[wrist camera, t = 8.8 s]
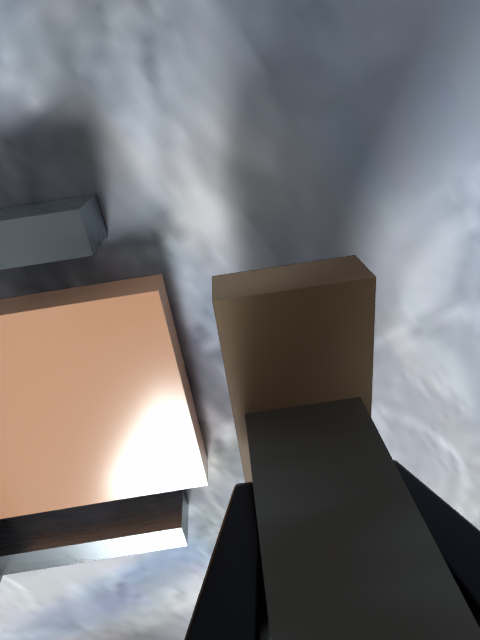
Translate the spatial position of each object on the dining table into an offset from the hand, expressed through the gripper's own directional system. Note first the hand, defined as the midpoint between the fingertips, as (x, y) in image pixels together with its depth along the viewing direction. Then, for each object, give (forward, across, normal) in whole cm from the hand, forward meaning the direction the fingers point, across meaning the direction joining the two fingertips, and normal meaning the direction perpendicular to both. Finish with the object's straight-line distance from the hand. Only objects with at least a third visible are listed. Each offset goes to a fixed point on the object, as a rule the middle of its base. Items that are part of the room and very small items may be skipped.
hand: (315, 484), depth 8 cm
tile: (+5, +6, 0) cm, 8 cm away
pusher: (+2, 0, 0) cm, 2 cm away
